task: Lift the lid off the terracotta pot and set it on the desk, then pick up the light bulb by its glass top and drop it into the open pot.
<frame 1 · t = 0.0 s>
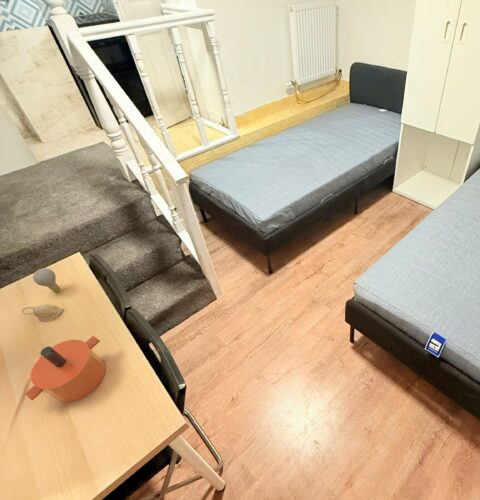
pot: (80, 378, 89), on the table
decorative ornament: (48, 315, 104), on the table
light bulb: (58, 291, 111), on the table
pot lid: (62, 363, 83), point 8 cm above the table, touching pot
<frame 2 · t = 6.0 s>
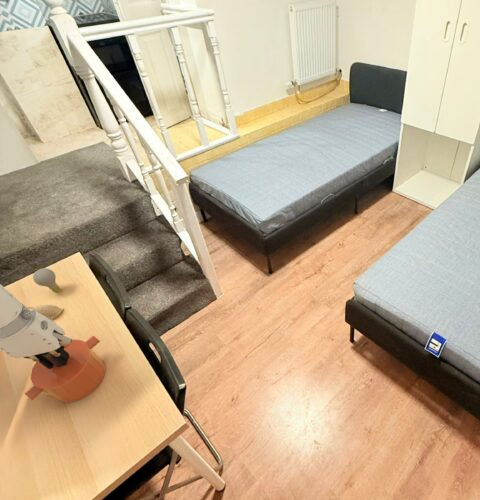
hand: (59, 361, 82), 10 cm above the table, tool pointing down, fingers closed on pot lid, 2 cm apart
pot lid: (62, 363, 83), point 9 cm above the table, touching gripper, pot
everything else where it was.
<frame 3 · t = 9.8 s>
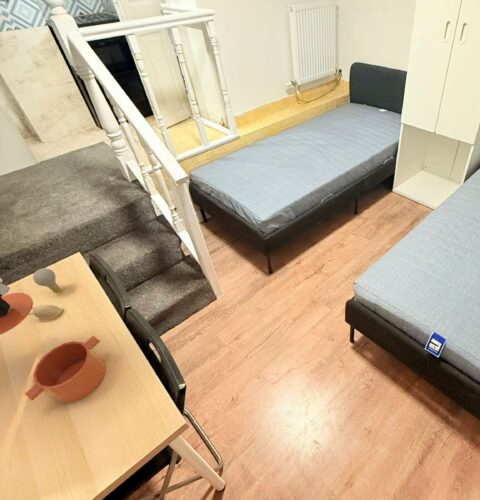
pot lid: (2, 314, 82), point 19 cm above the table, touching gripper
everything else where it was.
when the fingers open (2 cm above the table, at t = 13.9 s): pot lid stays where it is, point 1 cm above the table.
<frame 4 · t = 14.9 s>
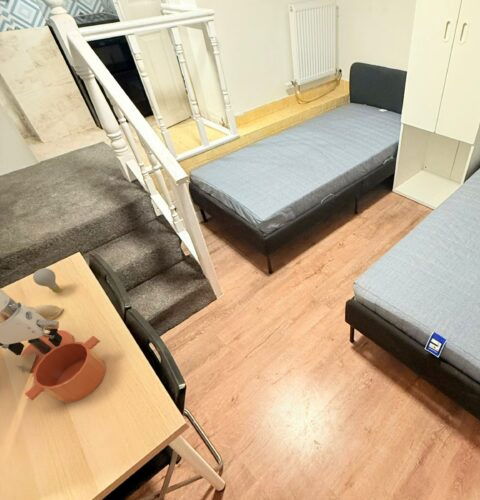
hand: (40, 346, 93), 3 cm above the table, tool pointing down, fingers open, 9 cm apart
pot lid: (47, 351, 95), point 1 cm above the table
everything else where it was.
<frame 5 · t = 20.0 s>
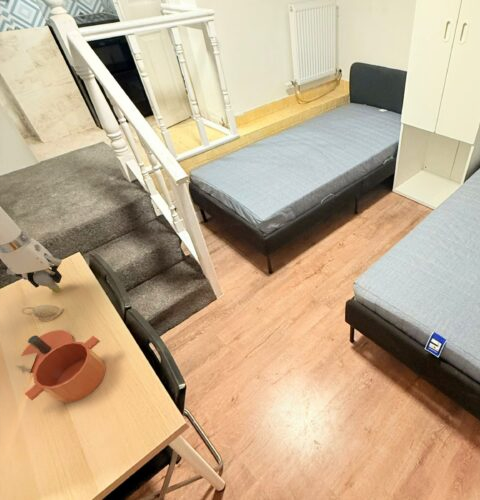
hand: (48, 281, 108), 5 cm above the table, tool pointing down, fingers closed on light bulb, 5 cm apart
light bulb: (58, 291, 111), on the table, touching gripper
everything else where it was.
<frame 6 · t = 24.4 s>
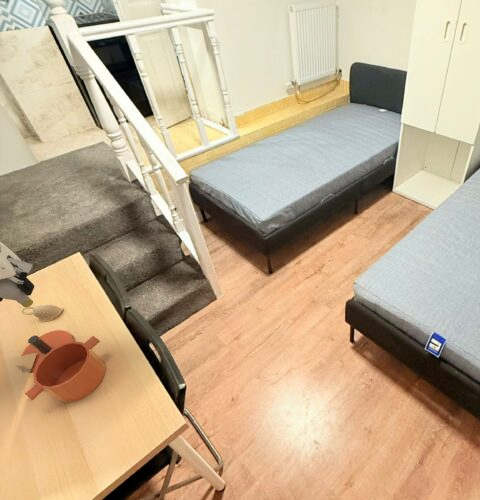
hand: (16, 293, 81), 23 cm above the table, tool pointing down, fingers closed on light bulb, 5 cm apart
light bulb: (30, 305, 84), point 18 cm above the table, touching gripper
everything else where it was.
when the fingers open (11 cm above the table, at t = 29.1 s): light bulb drops 5 cm, resting on pot.
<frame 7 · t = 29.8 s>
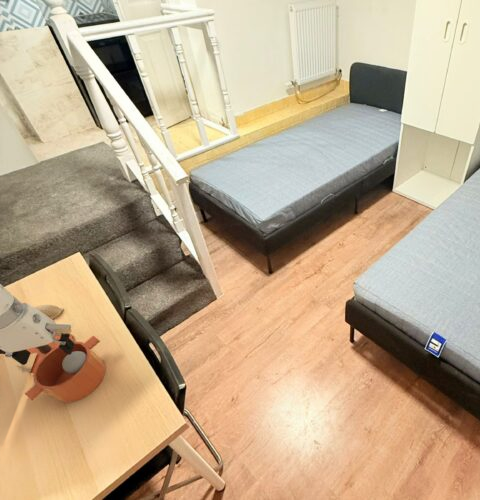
hand: (49, 354, 80), 13 cm above the table, tool pointing down, fingers open, 9 cm apart
light bulb: (78, 377, 89), point 1 cm above the table, touching pot
everything else where it was.
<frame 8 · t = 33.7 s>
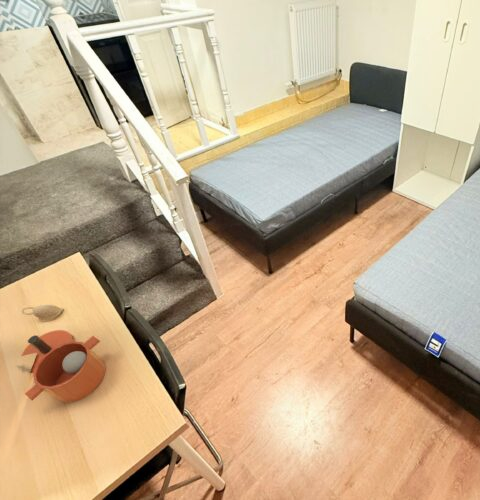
nothing on the table moved.
at the end: pot lid inside the target area on the table beside the pot (0.6 cm from its centre), point 0.6 cm above the table; light bulb inside the target area in the pot (0.1 cm from its centre), point 0.7 cm above the pot's base; the gripper is holding nothing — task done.
